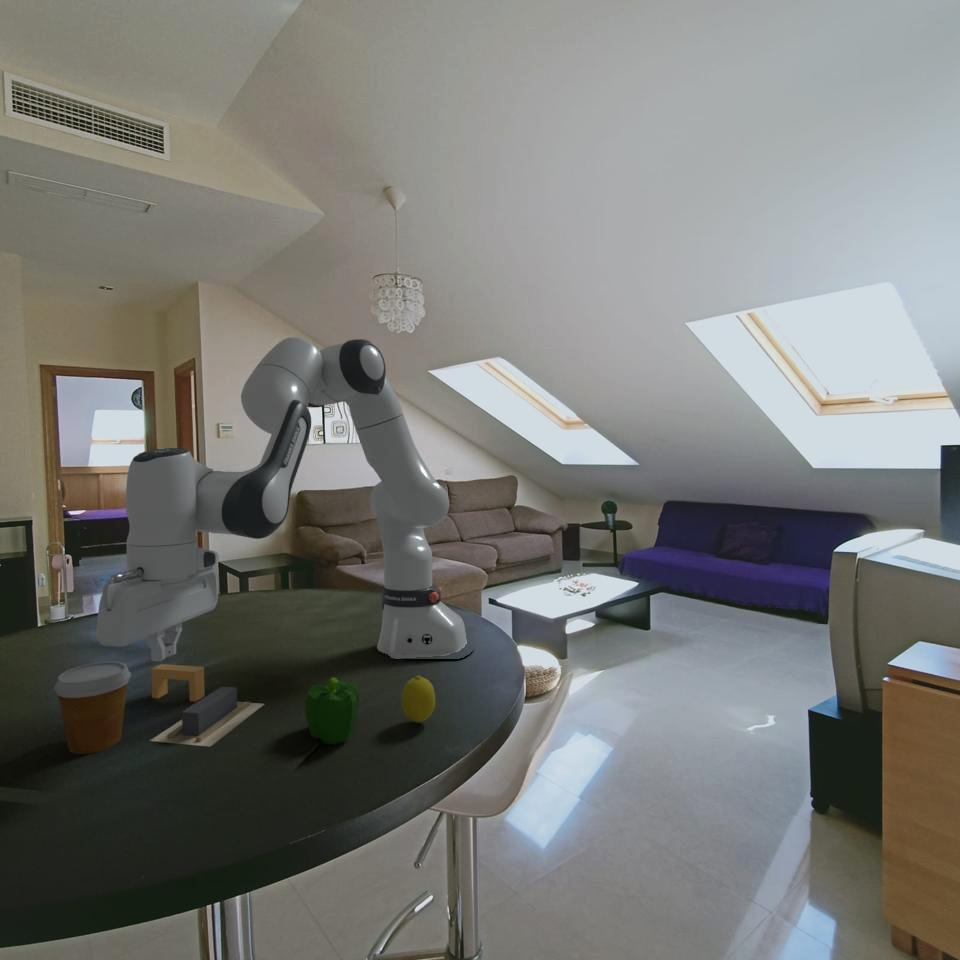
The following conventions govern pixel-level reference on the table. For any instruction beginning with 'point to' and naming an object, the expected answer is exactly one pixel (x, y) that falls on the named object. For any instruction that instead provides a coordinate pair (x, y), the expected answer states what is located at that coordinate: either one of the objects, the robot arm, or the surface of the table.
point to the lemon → (418, 699)
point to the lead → (208, 711)
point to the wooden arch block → (178, 673)
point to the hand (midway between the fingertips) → (163, 658)
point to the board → (211, 733)
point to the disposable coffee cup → (93, 705)
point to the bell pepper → (332, 711)
